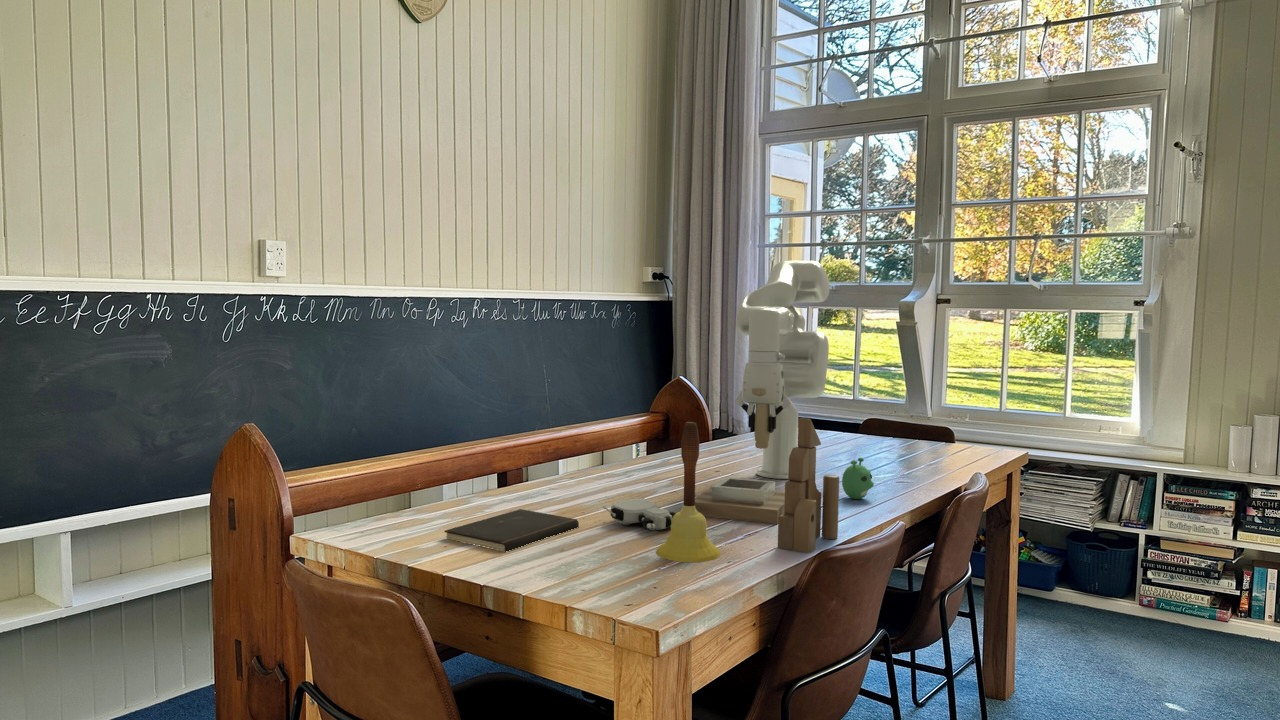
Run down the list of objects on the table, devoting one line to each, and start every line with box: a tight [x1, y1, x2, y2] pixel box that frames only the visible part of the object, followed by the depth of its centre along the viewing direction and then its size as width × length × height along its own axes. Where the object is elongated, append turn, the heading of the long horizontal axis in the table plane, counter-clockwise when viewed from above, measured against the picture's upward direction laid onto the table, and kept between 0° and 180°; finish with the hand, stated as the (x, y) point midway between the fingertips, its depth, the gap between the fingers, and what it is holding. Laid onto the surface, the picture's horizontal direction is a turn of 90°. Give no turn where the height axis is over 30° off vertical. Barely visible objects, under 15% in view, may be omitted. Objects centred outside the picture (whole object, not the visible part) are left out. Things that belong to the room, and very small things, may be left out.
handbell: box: [655, 421, 722, 563], centre depth 167 cm, size 12×12×25 cm
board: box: [695, 486, 785, 525], centre depth 204 cm, size 20×20×3 cm
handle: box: [752, 389, 770, 450], centre depth 219 cm, size 5×6×15 cm
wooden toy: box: [777, 417, 840, 554], centre depth 176 cm, size 15×7×25 cm, turn 145°
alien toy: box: [841, 457, 875, 500], centre depth 217 cm, size 7×8×10 cm
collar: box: [711, 477, 776, 505], centre depth 204 cm, size 12×12×3 cm
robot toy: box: [602, 497, 677, 532], centre depth 188 cm, size 12×4×15 cm
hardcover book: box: [444, 508, 580, 553], centre depth 180 cm, size 16×23×2 cm
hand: (762, 430), depth 219 cm, fingers closed on handle, 4 cm apart
